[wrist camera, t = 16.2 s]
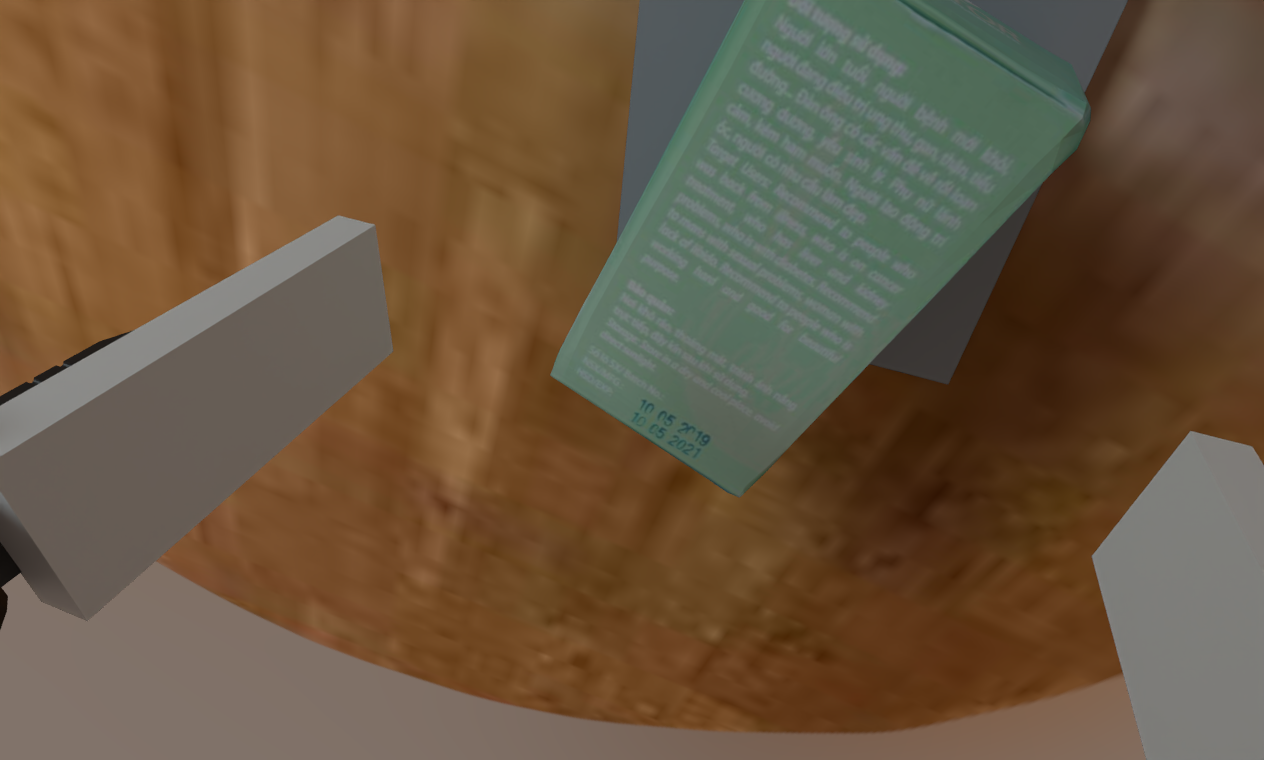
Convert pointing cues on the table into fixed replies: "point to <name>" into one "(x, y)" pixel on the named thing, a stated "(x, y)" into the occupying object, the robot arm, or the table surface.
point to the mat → (680, 56)
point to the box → (812, 217)
